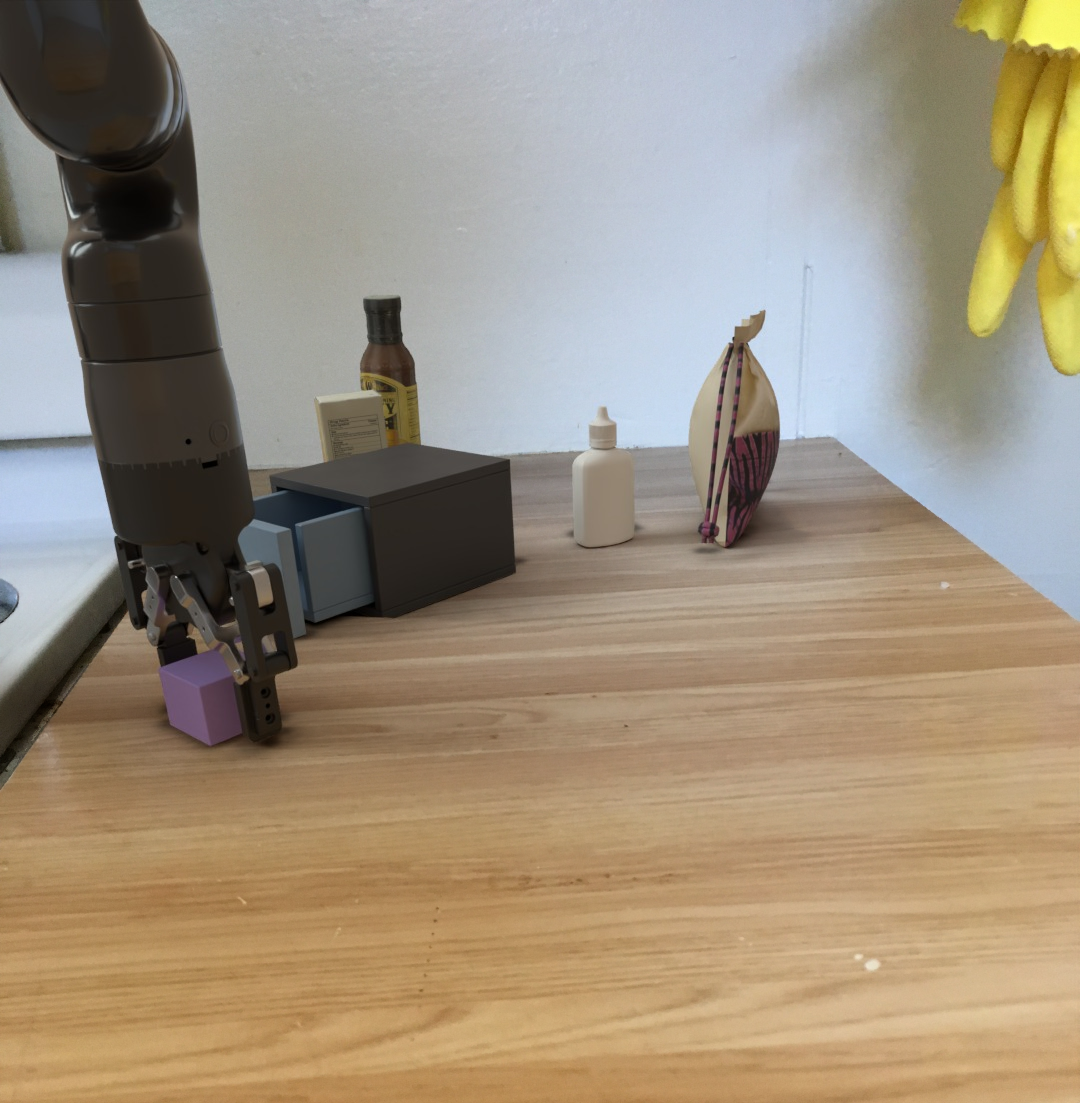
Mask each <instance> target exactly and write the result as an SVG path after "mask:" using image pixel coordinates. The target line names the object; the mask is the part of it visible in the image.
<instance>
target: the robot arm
mask: <svg viewBox="0 0 1080 1103" xmlns="http://www.w3.org/2000/svg"><path fill="white" fill-rule="evenodd" d="M177 60H178V59H177V58H176V56H175V54H174V53H173V50H172V49H171V47H170V46H169V44H168V43H167V42H166V40H165V39H164V38H163V37H162V35H161V34H160V33H159V31H157V30H156V28H154V27H153V26H152V25H151V24H150V23H149V20H148V18H147V16H146V13H145V12H144V9H143V8H142V5H141V3H140V0H0V86H1V88H2V90H3V92H4V94H5V96H6V97H7V100H8V101H9V103H10V105H11V107H12V108H13V110H14V112H15V113H16V115H17V116H18V118H19V119H20V120H21V122H22V123H23V124H24V126H25V127H26V128H27V129H28V131H29V132H30V133H31V134H32V136H34V137H35V138H36V139H37V140H38V141H39V142H40V143H41V144H43V145H44V146H46V147H47V148H48V149H49V150H50V151H52V152H54V157H55V160H56V166H57V172H58V177H59V183H60V188H61V194H62V199H63V204H64V209H65V210H64V211H65V214H66V219H67V220H66V221H67V235H66V237H65V239H64V242H63V244H62V247H61V256H60V257H61V258H60V261H61V262H60V264H61V276H62V283H63V287H64V293H65V298H66V302H67V308H68V312H69V317H70V321H71V326H72V331H73V335H74V339H75V344H76V348H77V352H78V356H79V358H81V359H80V366H81V372H82V381H83V393H84V403H85V410H86V415H87V419H88V424H89V428H90V432H91V437H92V440H93V445H94V449H95V455H96V459H97V463H98V467H99V473H100V477H101V481H102V485H103V490H104V494H105V498H106V504H107V507H108V511H109V516H110V521H111V525H112V529H113V531H114V532H113V533H114V534H115V535H114V538H113V544H114V548H115V553H116V558H117V562H118V563H117V564H118V567H119V568H118V569H119V573H120V578H121V582H122V587H123V591H124V597H125V600H126V601H125V602H126V606H127V611H128V616H129V620H130V623H131V625H132V627H133V628H134V629H135V630H136V631H141V630H143V629H145V630H146V632H145V633H146V638H147V640H148V642H149V644H150V645H151V646H152V647H155V648H156V653H157V656H158V661H159V662H158V663H159V666H160V667H163V666H166V665H169V664H171V663H174V662H177V661H180V660H183V659H186V658H189V657H192V656H195V655H198V654H199V653H198V648H197V644H196V638H192V637H190V636H191V635H193V633H194V629H195V628H196V629H197V630H198V632H199V634H200V635H201V638H202V640H203V641H204V643H205V646H206V647H207V648H208V649H209V650H213V651H217V652H219V653H220V654H221V656H222V658H223V659H224V661H225V663H226V665H227V667H228V669H229V671H230V673H231V675H232V676H233V678H234V680H235V682H233V686H234V691H235V697H236V702H237V707H238V712H239V718H240V723H241V728H242V733H241V734H242V737H243V738H244V739H246V740H247V741H249V742H252V743H257V744H258V743H259V742H262V741H265V740H267V739H269V738H271V737H274V736H276V735H278V734H279V733H280V732H281V731H282V728H283V721H282V720H283V719H282V714H281V708H280V705H279V704H280V702H279V697H278V691H277V684H276V676H277V675H280V674H283V673H285V672H289V671H291V670H295V669H296V668H298V665H299V659H298V654H297V650H296V643H295V638H293V633H292V627H291V622H290V617H289V611H288V606H287V601H286V595H285V590H284V585H283V579H282V574H281V571H280V569H279V567H278V566H277V565H276V564H275V563H270V564H267V565H263V566H258V567H252V566H248V565H247V563H246V561H245V559H244V556H243V554H242V551H241V548H240V545H239V543H238V537H239V535H240V533H241V531H242V530H243V529H244V528H245V527H246V526H248V525H249V524H250V523H251V522H252V521H253V519H254V516H255V508H254V502H253V498H254V497H253V491H252V485H251V480H250V474H249V473H250V472H249V467H248V459H247V455H246V454H247V453H246V449H245V442H244V436H243V431H242V424H241V419H240V411H239V406H238V401H237V395H236V390H235V387H234V384H233V380H232V377H231V374H230V370H229V368H228V365H227V361H226V357H225V352H224V348H223V347H222V345H223V342H222V336H221V332H220V325H219V319H218V313H217V307H216V301H215V296H214V289H213V284H212V280H211V275H210V270H209V267H208V263H207V259H206V255H205V249H204V245H203V239H202V232H201V214H200V212H201V210H200V195H199V182H198V181H199V180H198V169H197V168H198V167H197V157H196V147H195V138H194V131H193V130H194V129H193V123H192V115H191V110H190V103H189V98H188V93H187V87H186V85H185V81H184V80H185V79H184V76H183V73H182V70H181V68H180V65H179V63H178V61H177ZM144 592H146V593H145V599H144V601H143V596H142V595H143V593H144ZM234 622H237V623H235V624H233V625H229V626H225V625H227V624H231V623H234ZM223 626H225V627H223ZM269 635H273V639H274V645H275V648H274V646H273V644H272V642H271V640H270V638H269V637H268V636H269ZM238 643H241V645H242V650H243V652H244V655H245V660H244V659H243V657H242V655H241V654H240V652H239V651H240V650H239V648H238V646H237V644H238Z"/></svg>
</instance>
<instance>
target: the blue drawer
mask: <svg viewBox="0 0 1080 1103" xmlns="http://www.w3.org/2000/svg"><path fill="white" fill-rule="evenodd" d="M253 502H254V508H255V516H254V519H253V521H252V522H251V523H250V524H249V525H248V526H246V527H245V528H244V529H243V530H242V531H241V533H240V535H239V537H238V543H239V545H240V548H241V551H242V554H243V556H244V559H245V561H246V563H247V565H248V566H252V567H258V566H263V565H267V564H270V563H275V564H276V565H277V566H278V567H279V569H280V571H281V574H282V579H283V585H284V590H285V595H286V601H287V606H288V611H289V617H290V622H291V627H292V633H293V638H294V639H297V638H299V637H302V636H305V635H307V628H306V623H305V620H307V621H310V622H312V623H318V622H321V621H324V620H327V619H330V618H333V617H336V616H339V615H341V614H344V613H347V612H351V611H350V610H353V609H356V608H358V607H361V606H364V605H367V604H370V603H373V602H375V598H374V590H373V581H372V573H371V564H370V555H369V547H368V538H367V530H366V521H365V512H364V507H365V506H360V505H356V504H352V503H347V502H343V501H339V500H334V499H330V498H326V497H321V496H317V495H312V494H308V493H304V492H299V491H295V490H291V489H288V490H284V491H280V492H276V493H272V492H271V493H267V494H264V495H260V496H257V497H253Z"/></svg>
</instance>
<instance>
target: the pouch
mask: <svg viewBox="0 0 1080 1103" xmlns="http://www.w3.org/2000/svg"><path fill="white" fill-rule="evenodd" d="M766 313H767V312H766V309H763V310H759V313H757V314H756V313H755V314H750V315H749V318H741V324H740V326H739V325H736V326H735V325H734V333H733V335H734V336H732V337H731V341H732V342H730V341H729V342H728V343H727V344H726V346H725V347H724V348H723V350H722V352H721V354H720V356H719V358H718V359H717V361H716V362H715V363H714V365H713V366H712V368H711V370H710V371H709V373H708V374H707V376H706V378H705V379H704V381H703V383H702V385H701V387H700V389H699V391H698V393H697V396H696V398H695V401H694V404H693V407H692V410H691V414H690V419H689V427H688V454H689V455H688V456H689V462H690V464H689V465H690V469H691V473H692V474H691V475H692V479H693V482H694V484H695V485H694V486H695V489H696V490H695V491H696V493H697V496H698V500H699V503H700V505H701V509H702V511H703V514H704V521H702V522H700V523H699V525H698V528H697V532H698V533H699V535H701V536H702V537H701V544H708V543H709V544H712V545H713V544H715V542H717V544H718V545H719V546H721V547H724V548H726V547H730V546H732V545H733V544H735V543H736V542H737V541H738V540H739V538H740V537H741V535H742V534H743V533H744V532H745V529H746V528H747V526H748V524H749V522H750V521H751V519H752V517H753V515H754V513H755V512H756V510H757V508H758V506H759V504H760V502H761V501H762V498H763V496H764V494H765V492H766V489H767V488H768V485H769V483H770V480H771V478H772V476H773V472H774V469H775V466H776V463H777V458H778V454H779V448H780V440H781V421H780V420H781V418H780V411H779V405H778V404H779V403H778V400H777V396H776V393H775V391H774V388H773V386H772V384H771V381H770V379H769V377H768V376H767V373H766V371H765V370H764V368H763V367H762V365H761V363H760V362H759V361H758V359H757V357H756V356H755V355H754V353H753V351H752V349H751V348H750V345H749V343H750V342H751V341H752V340H753V339H755V338H756V337H757V336H758V334H759V333H760V332H761V331H762V330H763V326H764V323H765V320H766Z"/></svg>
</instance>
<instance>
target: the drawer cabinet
mask: <svg viewBox="0 0 1080 1103" xmlns="http://www.w3.org/2000/svg"><path fill="white" fill-rule="evenodd" d="M511 475H512V474H511V459H510V458H506V457H505V458H504V457H500V456H499V457H498V456H493V455H486V454H480V453H475V452H468V451H462V450H455V449H450V448H443V447H437V446H431V445H425V444H421V445H419V444H413V443H405V444H400V445H396V446H392V447H388V448H383V449H379V450H375V451H371V452H366V453H362V454H358V455H353V456H349V457H345V458H341V459H336V460H332V461H328V462H324V461H323V462H320V463H316V464H311V465H307V466H302V467H298V468H294V469H290V470H285V471H280V472H277V473H272V474H269V475H268V477H269V484H270V490H271V494H272V493H276V492H280V491H284V490H288V489H291V490H295V491H299V492H304V493H308V494H312V495H317V496H321V497H326V498H330V499H334V500H339V501H343V502H347V503H352V504H356V505H360V506H365V507H364V512H365V521H366V530H367V538H368V547H369V555H370V564H371V573H372V581H373V590H374V598H375V602H373V603H370V604H367V605H364V606H361V607H358V608H356V609H353V610H350V611H349V612H353V613H356V614H359V615H361V616H364V617H367V618H380V619H381V618H382V619H394V618H397V617H400V616H402V615H405V614H408V613H410V612H413V611H416V610H418V609H422V608H424V607H426V606H429V605H432V604H435V603H438V602H439V601H440V602H441V601H443V600H446V599H448V598H451V597H453V596H456V595H460V594H461V593H464V592H467V591H470V590H473V589H475V588H478V587H480V586H483V585H486V584H488V583H492V582H495V581H497V580H500V579H502V578H505V577H507V576H510V575H513V574H515V573H517V566H516V550H515V549H516V548H515V531H514V530H515V528H514V510H513V494H512V492H513V490H512V476H511Z"/></svg>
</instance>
